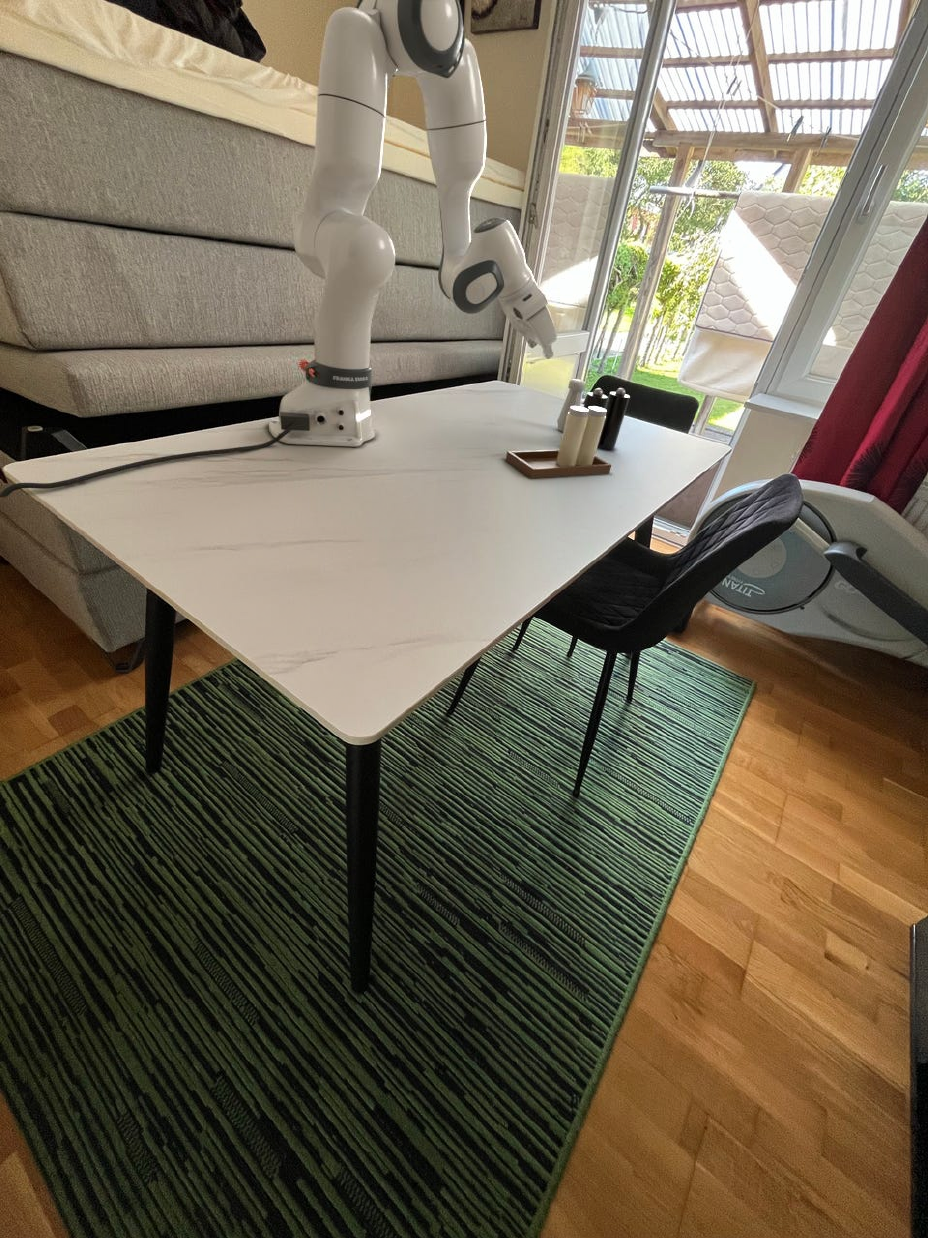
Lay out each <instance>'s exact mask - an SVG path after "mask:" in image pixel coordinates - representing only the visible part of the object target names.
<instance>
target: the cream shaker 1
mask: <svg viewBox="0 0 928 1238" xmlns="http://www.w3.org/2000/svg"><path fill="white" fill-rule="evenodd" d="M583 407H584V406H580V407H579V406H571V407H570V411H569V412H568V415H567V419H566V423H565V427H564V431H563V432H562V436H561V440H560V443H559V448H558V450H559V451H558V455H557V460H556V464H557V465H559V466H575V464H576V460H577V457H578V453H579V449H580V446H581V442H582V438H583V435H584V431H585V427H586V423H587V420H588V413H589V410H588V409H586V408H583Z"/></svg>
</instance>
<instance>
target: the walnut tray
mask: <svg viewBox="0 0 928 1238" xmlns="http://www.w3.org/2000/svg"><path fill="white" fill-rule="evenodd" d="M558 451H559V449H537V450H536V449H534V450H533V449H532V450H508V451H506V456H505V461H506V462H508V463H509V464H510V465H512V466H513V467H514V468H516V469H517V470H519V471H520V472H521V473H523V474H524V475H525V476H527V477H528V478H530V479H544V478H545V479H547V478H560V477H562V478H563V477H578V476H592V475H593V476H594V475H606V474H607V475H609V474H610V472H611V469H612V464H611V463H609V462H607V461H605V460H603V459H602V458H600V457H598V456H596V455H595V457H594V460H593V463H592V465H580V466H579V465H576V464H575V466H559V465H557V464H556V460H557V455H558Z"/></svg>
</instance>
